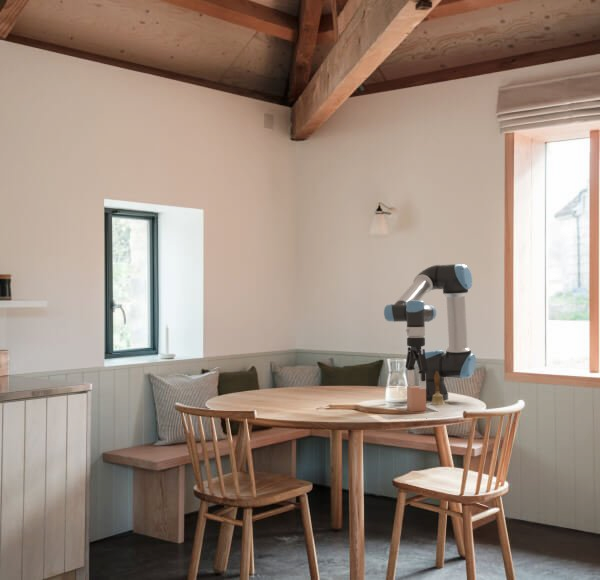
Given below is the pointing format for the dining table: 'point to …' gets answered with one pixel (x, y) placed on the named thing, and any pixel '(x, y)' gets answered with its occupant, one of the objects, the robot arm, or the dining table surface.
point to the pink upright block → (416, 398)
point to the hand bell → (437, 391)
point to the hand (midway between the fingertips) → (416, 387)
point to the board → (416, 411)
